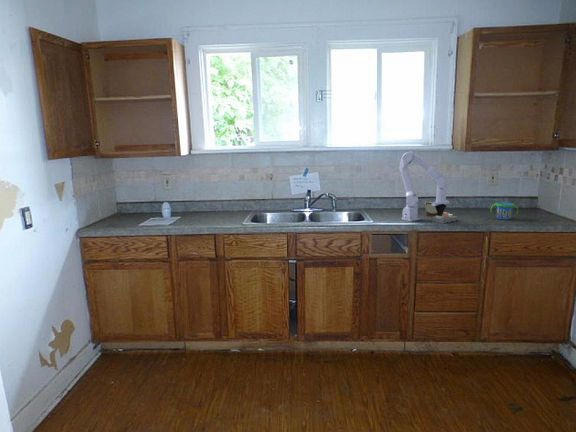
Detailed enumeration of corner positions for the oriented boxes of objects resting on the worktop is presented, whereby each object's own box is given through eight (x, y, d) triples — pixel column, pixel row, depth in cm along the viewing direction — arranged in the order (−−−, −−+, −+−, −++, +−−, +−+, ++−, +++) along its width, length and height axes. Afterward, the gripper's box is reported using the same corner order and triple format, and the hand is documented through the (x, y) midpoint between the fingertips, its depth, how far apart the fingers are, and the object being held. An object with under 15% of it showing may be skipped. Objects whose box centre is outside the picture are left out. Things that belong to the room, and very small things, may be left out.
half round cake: (440, 214, 266) (441, 200, 264) (442, 216, 260) (443, 202, 258) (421, 214, 268) (422, 200, 266) (423, 216, 262) (424, 202, 260)
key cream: (449, 220, 247) (449, 215, 247) (444, 219, 250) (444, 214, 250) (452, 219, 249) (452, 214, 249) (447, 218, 252) (448, 213, 251)
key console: (442, 223, 240) (443, 219, 239) (430, 221, 247) (430, 217, 247) (457, 220, 248) (457, 216, 247) (445, 218, 255) (445, 214, 254)
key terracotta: (444, 218, 245) (445, 213, 244) (440, 217, 248) (440, 212, 247) (448, 218, 246) (448, 212, 246) (443, 217, 249) (443, 212, 249)
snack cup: (517, 218, 251) (518, 203, 249) (517, 221, 242) (519, 205, 240) (490, 216, 258) (491, 201, 256) (489, 219, 249) (490, 204, 247)
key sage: (440, 222, 243) (440, 216, 242) (435, 221, 245) (435, 215, 245) (443, 221, 244) (443, 216, 244) (438, 220, 247) (439, 215, 247)
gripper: (439, 196, 234) (438, 218, 237) (454, 194, 242) (452, 215, 245) (429, 195, 240) (428, 216, 243) (444, 193, 248) (442, 214, 251)
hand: (439, 216), depth 244 cm, fingers closed, pressing on key sage
